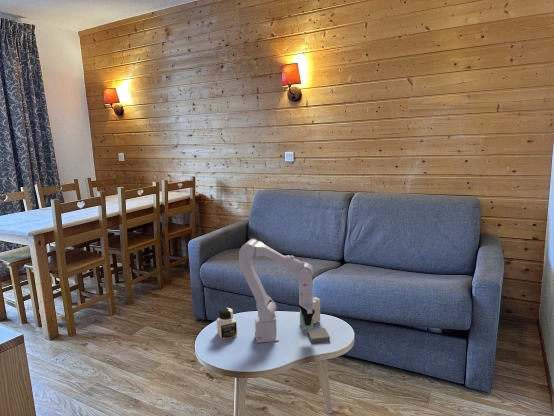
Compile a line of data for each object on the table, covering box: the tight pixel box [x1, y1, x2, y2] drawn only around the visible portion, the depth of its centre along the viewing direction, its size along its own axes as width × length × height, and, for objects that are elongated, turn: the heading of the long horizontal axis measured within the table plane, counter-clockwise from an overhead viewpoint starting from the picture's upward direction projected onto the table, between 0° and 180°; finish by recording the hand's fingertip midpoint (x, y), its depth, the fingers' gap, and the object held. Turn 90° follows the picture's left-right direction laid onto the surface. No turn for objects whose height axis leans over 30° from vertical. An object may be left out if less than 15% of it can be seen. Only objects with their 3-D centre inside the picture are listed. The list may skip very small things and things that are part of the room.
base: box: [306, 327, 331, 344], centre depth 165 cm, size 8×8×2 cm
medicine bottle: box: [216, 307, 238, 341], centre depth 169 cm, size 7×7×12 cm
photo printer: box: [299, 296, 321, 325], centre depth 178 cm, size 10×4×12 cm, turn 119°
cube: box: [300, 315, 314, 330], centre depth 161 cm, size 4×4×4 cm
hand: (306, 322), depth 161 cm, fingers closed on cube, 4 cm apart
